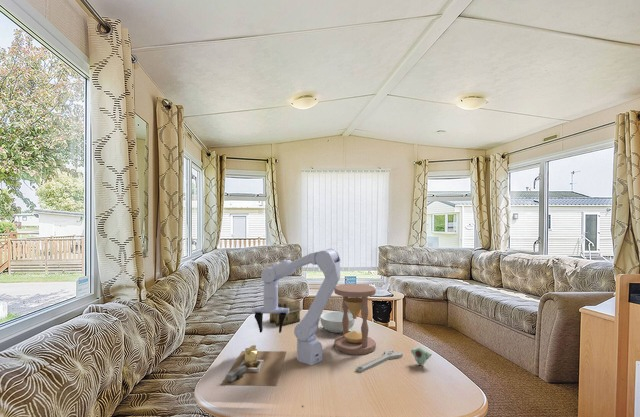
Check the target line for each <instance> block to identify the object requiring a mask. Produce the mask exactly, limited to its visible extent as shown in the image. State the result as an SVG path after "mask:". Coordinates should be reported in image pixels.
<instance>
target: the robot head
mask: <svg viewBox="0 0 640 417" xmlns="http://www.w3.org/2000/svg"><path fill="white" fill-rule="evenodd" d="M410 351H411V354H412V355H413V357H414V360H415V361H416V363H417V364H418V365H419V366H424V365H425V364H426V362H427V361H428V360H429V359H430V358H431V356H432V355H433V353H432V352H429V351H428V350H426V349H425V348H423V347H422V346H417V347H415V348H411V350H410Z"/></svg>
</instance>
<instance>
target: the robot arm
mask: <svg viewBox="0 0 640 417" xmlns="http://www.w3.org/2000/svg"><path fill="white" fill-rule="evenodd" d="M341 261H342V260H341V257H340V255H339V252H338V251H337V250H336V249H335V248H328V249H324V250H319V251H315V252H314V251H313V252H311V253H308V254H306V255H304V256H302V257H299V258H297V259H295V260H293V261H292V260H290V259H282V260H281V262H280V263H277V264H275V263H273V264H272V265H271V266H269V267H265V268H264V269H263V270H262V271H261V274H260V278H261V280H262V282H263V307H253V308H252V310H251V314H253V315H254V320H255V321H256V323H257V325H258V331H259V333H263V329H264V328H263V318H264V317H263V316H264V314H268V315H270V314H280V315H279V326H278V334H279V333H280V334H281V333H282V329H283V326H282V325H283V322H284V319H285V317H286V314H289V308H281V307H278V298H279V280H281V279H283V278H285V277H288V276H291V275H293V274H294V273H295V271H296V269H299V268H301V267H304V266H308V265H309V264H312V265H314V266H315V265H317V267H318V268H319V269H320V270H321V272H322V273H323V276H324V279H323V281H322V283H321V285H320V287H319V289H318V291H317V293H316V295H315V296H314V299H313V300H312V302H311V304H310V306H309V308H308V310H307V313H305V315H304V317H303V318H302V319H300V322H298V323H297V324H296V325H295V326H294V330H293V332H294V336H295V337H296V340H297V341H296V360H297V361H298V362H300V363H303V364H306V365H309V366H313V365H315V364H318V363H321V362H322V361H323V345H322V343H321V342H320V341H319V340H317V334H316V333H317V331H318V330H319V323H320V322H321V319H320V317H321V315H322V314H323V311H324V310H325V308H326V307H327V304H328V302H329V300H330V298H331V296H333V295H332V294H333V292H334V289H335V287H336V286H338V283H339V281H340V279H341Z"/></svg>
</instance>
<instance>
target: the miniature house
mask: <svg viewBox="0 0 640 417" xmlns="http://www.w3.org/2000/svg"><path fill="white" fill-rule="evenodd" d="M300 301H301V300H300V299H297V298H293V297H290V296H282V297H278V307H281V308H289V314H286V317H285V319H284V322H283V325H282V327H285V326H289V325H292V324H299V323H300V322H301V317H300V315H301V314H300V312H301V311H302V310H301V308H300V306H301V302H300ZM279 315H280V314H269V324H275V327H279Z"/></svg>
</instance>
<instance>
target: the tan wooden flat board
mask: <svg viewBox="0 0 640 417" xmlns="http://www.w3.org/2000/svg"><path fill="white" fill-rule="evenodd" d="M248 348H249V347H245V350H246V349H248ZM245 350H241V352H240V354H239V355H238V357H237V359H236V360H235V361H234V363H233V365H232V366H231V368H230V370H229V371H228V372H227V374H226V376H225V377H224V378H223V381H222V382H221V384H220V386H243V387H244V386H253V387H255V386H256V387H257V386H258V387H277V386H278V382H279V378H280V375H281V373H282V372H281V371H282V369H283V365H284V362H285V359H286V356H287V351H281V350H280V351H279V350H278V351H275V350H271V351H268V350H267V351H266V350H265V351H264V350H262V351H261V350H257V368H249V367H246V366H245Z"/></svg>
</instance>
